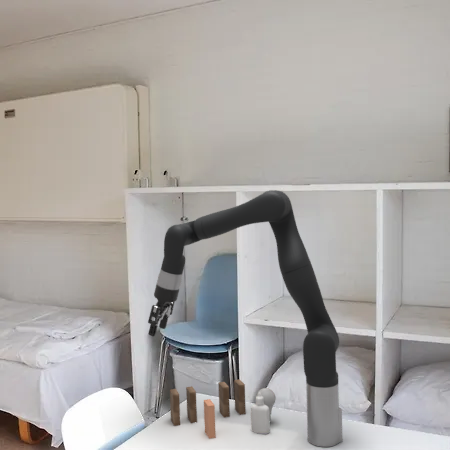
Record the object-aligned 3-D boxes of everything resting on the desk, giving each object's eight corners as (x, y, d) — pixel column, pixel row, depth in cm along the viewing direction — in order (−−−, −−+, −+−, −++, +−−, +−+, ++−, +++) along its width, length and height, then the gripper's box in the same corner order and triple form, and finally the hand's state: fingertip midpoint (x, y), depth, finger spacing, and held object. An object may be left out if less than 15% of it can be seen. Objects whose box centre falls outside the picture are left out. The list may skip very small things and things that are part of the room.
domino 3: (211, 430, 164) (209, 399, 164) (215, 437, 160) (214, 405, 159) (204, 431, 164) (203, 399, 163) (209, 438, 159) (208, 406, 158)
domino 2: (193, 416, 176) (192, 386, 175) (197, 422, 171) (195, 391, 170) (187, 417, 175) (186, 387, 174) (191, 423, 170) (189, 392, 170)
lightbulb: (263, 416, 173) (262, 383, 172) (279, 421, 170) (278, 387, 169) (253, 423, 168) (252, 389, 167) (269, 428, 165) (268, 393, 164)
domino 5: (240, 408, 181) (239, 379, 180) (245, 414, 176) (244, 384, 175) (235, 409, 180) (234, 380, 179) (239, 415, 175) (239, 385, 175)
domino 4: (225, 410, 179) (224, 381, 178) (229, 416, 174) (228, 386, 173) (219, 411, 178) (218, 382, 178) (223, 417, 174) (222, 387, 173)
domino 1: (176, 418, 174) (175, 388, 173) (180, 425, 169) (179, 394, 169) (170, 419, 173) (169, 389, 173) (174, 426, 169) (173, 395, 168)
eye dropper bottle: (260, 426, 166) (259, 388, 166) (272, 432, 162) (270, 393, 161) (249, 430, 164) (248, 391, 163) (260, 436, 159) (259, 397, 159)
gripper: (170, 292, 162) (158, 342, 165) (186, 283, 176) (175, 329, 179) (148, 285, 164) (137, 334, 167) (166, 276, 178) (155, 322, 180)
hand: (157, 331), depth 173 cm, fingers open, 8 cm apart
